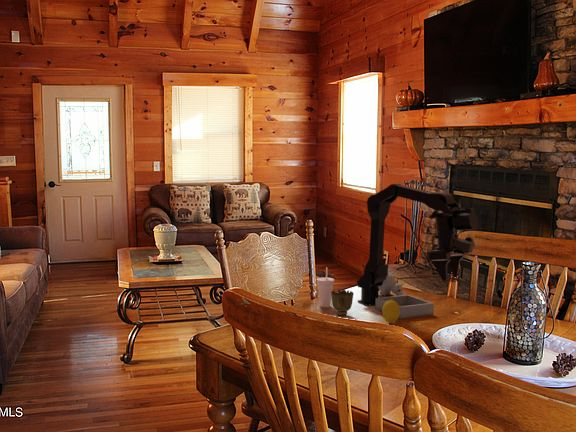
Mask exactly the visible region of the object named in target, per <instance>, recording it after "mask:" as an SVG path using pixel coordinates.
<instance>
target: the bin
mask: <svg viewBox="0 0 576 432" xmlns="http://www.w3.org/2000/svg"><path fill="white" fill-rule="evenodd" d="M390 299H392V300H393V301H395V302H396V303H397V304H398V305H399V309H400V314H399V317H398V319H397V320H404V319H405V320H406V319H412V318H413V319H414V318H419V317H428V316H434V310H435V309H434V306H435V305H434V302H432V301H428V300H424V299H422V298H419V297H416V296H413V295H410V294H404V295H399V296H396V295H391V296H390V295H389V296H381V297H379V298H376V305H375V310H377V311H378V312H381V313H382V308H383V305H384V303H385V302H387V301H389V300H390Z"/></svg>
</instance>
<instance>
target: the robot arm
mask: <svg viewBox="0 0 576 432" xmlns="http://www.w3.org/2000/svg"><path fill="white" fill-rule="evenodd" d="M398 197H400V198H403V199H407V200H411V201H414V202H418V203H421V204H424V205H426V207H428V208H429V209H432V210H434V211H432V213H431V214H430V215H429V216H428V218H429V219H434V220H435V226H436V228H435V229H436V234H435V235H434V239H437V247H436V248H435V249H434V250H430V251H429V252H428V254H427V261H430V263H431V264H432V266H433V267H434V268H435V270H436V271H437V273H438V275H439V277H440V278H441V280H442V281H443V282H447V280H448V266H449V269H450V271H451V273H452V276H453V278H458V276H459V275H458V274H459V270H460V265H461V261H462V260H463V259H464V257H466V254H470V253H473V250H474V247H475V246H476V244H475V243H476V242H475V241H474V238H473V237H471V236H467V237H466V238H460V237H459V234H458V232H456V231H470V230H471V231H472V230H476V229H477V228H478V226H479V218H478V216H477V214H476V212H475V210H474V208H473V207H471V208H469V207H468V208H465V209H462V208H461V207H460V205H459V203H457V202H456V201H455V197H454V196H453V193H450V192H440V191H438V192H437V191H435V192H432V191H428V190H427V191H426V190H422V189H420V188H415V187H411V186H408V185H402V184H401V183H391V184H389V185H388V186H387V187H386V188H384V189H382V190H380V191H378V192H376V193H375V194H372V195H369V197H368V198H367V200H366V209H367V214H368V215H369V217H370V232H369V236H370V237H369V250H368V252H369V253H368V260H367V261H366V263H365V265H364V269H363V272H362V276H360V278H359V279H358V280H357V281H356V285H357V287H358V288H361V291H360V293H361V295H360V296H361V297H360V299H358V300H357V303H358V304H359V303H360V304H361V305H365V306H367V307H369V306H374V305H375V306H376V298H380V297H379V295H380V291H379V288H378V286H382V284H383V281H384V280H386V277H387V275H388V273H389V272H388V271H389V264H388V263H387V264H385V261H384V259H383V258H384V244H385V243H384V239H385V224H386V222H385V221H386V219H387V217H388V214H389V213H390V208H391V204H392V203H394V202H395V201H397V199H398ZM455 230H456V231H455ZM378 291H379V292H378Z"/></svg>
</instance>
